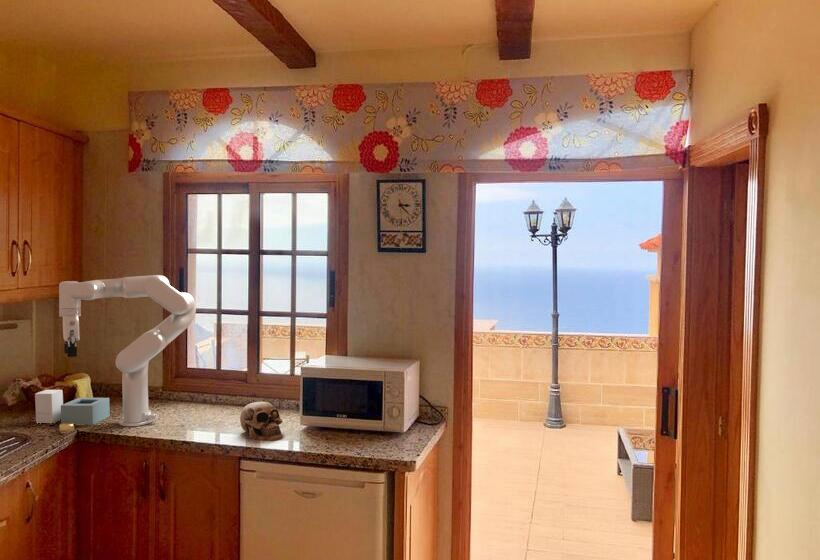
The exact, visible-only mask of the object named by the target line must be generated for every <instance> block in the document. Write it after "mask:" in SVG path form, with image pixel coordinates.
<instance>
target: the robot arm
mask: <svg viewBox="0 0 820 560" xmlns="http://www.w3.org/2000/svg"><path fill="white" fill-rule="evenodd" d="M58 295H59V296H58V297H59V298H58V300H59V301H58V302H59V303H58V304H59V307H58V308H59V309H58V310H59V312H58V314H59V317H62V334H63V340H64V350H63V351H64V352H63V353H64V354H67V357H68V358H75V357H78V345H77V342H79V341H80V339H81V337H80V320H79V317H81V316H82V315H81V314H82V301H81V300H84V301H93V300H96V299H105V298H116V297H117V298H119V297H120V298H121V297H122V298H125V299H133V298H145V297H146V298H147V297H149V298H150V299H152V300H153V301H154V302H155V303H157V304H159V305H160V306H161V307H162V308H164V309H165V310H166V311H168V312H169V313H171V314H170V315H169V316H167V317H166V318H165V319H163V320H162V321H161V322H160V323H159V324H158V325H156V326H155V327H154V328H152V329H149V330H147V331H146V332H144V333H143V334H141V335H140V336H139V337H137V338H136V339H135V340H134V341H133V342H131V343H130V344H129V345H128V346H126V347H125V348H124V349H122V350H121V351H120V352H119V353H118V354H117V356H116V359H115V366H116V368H117V369H118V370H119V371H120V372H121V373H122V374H121V375H122V379H121V381H122V385H121V387H122V392H121V393H122V419H119V421H118V424H119V426H122V427H139V426H144V425H148V424H150V423H152V422H153V420H157V419H158V418H159V415H158V413H157V412H156V413H155V412H152V410H151V409H149V362H150V361H151V360H152V359H153V358H155V356H157V355H158V354H159V353H161V352H163V350H164V349H165V348H166V347H167V346H168V345H169V344H171V342H173V341H174V340H175V339H176V338H177V337H178V336H179V335H181V334H182V333H183V332H185V330H187V329H188V328H189V326H190V325H191V324H192V322H193V320H194V319H195V316H196V311H197V305H196V301H195V299H194V297H193V295H191V293H188V292H183V291H181V292H180V291H178V290H177V289H176V288H174V287H173V286H171V285H170V280H169V279H168V277H166V276H165V275H162V274H153V275H136V276H125V277H119V278H113V279H112V278H108V279H107V278H106V279H94V280H87V281H82V282H81V281H80V282H79V281H77V280H75V281H74V280H71V281H70V280H67V281H61V282H60V283H59V285H58Z"/></svg>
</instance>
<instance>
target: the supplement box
mask: <svg viewBox="0 0 820 560" xmlns="http://www.w3.org/2000/svg"><path fill="white" fill-rule="evenodd" d="M63 393H64V392H63V389H45V390H41V391H38V392H36V393H35V394H34V402H35V423H37V425H42V424H41V423H54V424H56V423H55V422H57V421H59V422H61V421H60V420H61V405H63V404H64V394H63ZM38 423H40V424H38ZM57 423H58V422H57Z"/></svg>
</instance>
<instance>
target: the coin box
mask: <svg viewBox="0 0 820 560" xmlns="http://www.w3.org/2000/svg"><path fill="white" fill-rule="evenodd" d="M110 412H111V411H110V397H78V398H76V399H73V400H71V401H68V402H65V403H63V405H61V421H60V424H62V423H68V422H72V423H74V424H88V425H87V426H94V425H97V424H98V423H100V422H102V421H104V420H106V419H108V418H110V417H109V416H110V415H111V413H110ZM107 417H108V418H107ZM103 419H104V420H103ZM101 420H102V421H101ZM99 421H100V422H99ZM93 424H94V425H93Z"/></svg>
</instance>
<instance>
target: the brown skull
mask: <svg viewBox="0 0 820 560" xmlns="http://www.w3.org/2000/svg"><path fill="white" fill-rule="evenodd" d="M239 420H240V426H241V428H242V430H243V431H244V432H246V433H247V435H249V437H250V439H253V440H257V441H258V440H259V441H264V442H266V441H267V442H269V441H277V440H280V439H283V432H282V431H281V427H280V424H282V423H283V419H282V418H281V415H280V414H279V410H278V409H276V407H275V406H273V404H272V403H270V402H267V401H256V402H251V403H248V404H247V405H245V406H244V407H243V408H242V410H241V413H240V416H239Z"/></svg>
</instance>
